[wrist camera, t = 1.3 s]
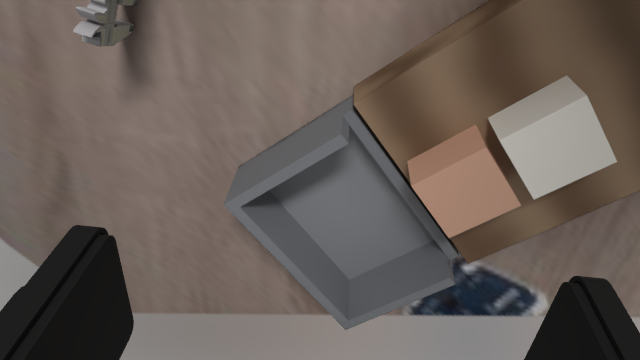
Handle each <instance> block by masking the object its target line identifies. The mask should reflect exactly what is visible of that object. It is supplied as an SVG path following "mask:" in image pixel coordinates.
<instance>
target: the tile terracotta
mask: <svg viewBox="0 0 640 360" xmlns="http://www.w3.org/2000/svg"><path fill="white" fill-rule="evenodd" d="M407 164H408V170H409V176H410V182H411V186H412V188H413V189H414V191H415V192H416V193H417V195H418V196H419V198H420V199H421V200H422V202H423V203H424V204H425V206H426V207H427V209H428V210H429V211H430V213H431V214H432V216H433V217H434V218H435V220H436V221H437V223H438V224H439V225H440V227H441V228H442V229H443V231H444V232H445V234H446V235H447V236H448V238H451V237H453V236H455V235H458V234H460V233H462V232H464V231H466V230H469V229H471V228H473V227H475V226H477V225H480V224H482V223H484V222H486V221H488V220H491V219H493V218H495V217H497V216H499V215H501V214H504V213H506V212H508V211H510V210H512V209H515V208H517V207H519V206H521V204H520V202H519V200H518V198H517V195H516V193H515V191H514V189H513V187H512V185H511V183H510V181H509V179H508V177H507V176H506V174H505V172H504V171H503V169H502V167H501V166H500V164H499V162H498V161H497V159H496V157H495V156H494V154H493V152H492V151H491V149H490V147H489V146H488V144H487V142H486V141H485V139H484V137H483V135H482V134H481V132H480V130H479V129H478V127H477V125H474V126H472V127H470V128H468V129H466V130H465V131H463V132H461V133H459V134H457V135H455V136H453V137H452V138H450V139H448V140H446V141H444V142H442V143H440V144H439V145H437V146H435V147H433V148H431V149H429V150H427V151H426V152H424V153H422V154H420V155H418V156H416V157H414V158H413V159H411V160H409V161H407Z"/></svg>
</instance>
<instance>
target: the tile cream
mask: <svg viewBox="0 0 640 360" xmlns="http://www.w3.org/2000/svg"><path fill="white" fill-rule="evenodd" d="M488 120H489V122H490V124H491V125H492V127H493V129H494V131H495V133H496V135H497V137H498V139H499V141H500V142H501V144H502V146H503V148H504V149H505V151H506V153H507V155H508V156H509V158H510V160H511V161H512V163H513V165H514V167H515V168H516V170H517V172H518V174H519V175H520V177H521V179H522V180H523V182H524V184H525V186H526V187H527V189H528V191H529V192H530V194H531V196H532V198H533V199H537V198H539V197H541V196H543V195H545V194H548V193H550V192H552V191H554V190H556V189H559V188H561V187H563V186H565V185H567V184H570V183H572V182H574V181H576V180H578V179H581V178H583V177H585V176H587V175H589V174H592V173H594V172H596V171H598V170H600V169H603V168H605V167H607V166H609V165H611V164H613V163H616V162H617V160H616V158H615V156H614V154H613V151H612V149H611V147H610V145H609V143H608V140H607V138H606V136H605V134H604V132H603V129H602V127H601V125H600V123H599V121H598V118H597V116H596V114H595V112H594V110H593V107H592V105H591V103H590V101H589V99H588V96H587V95H586V94H585V93H584V92H583V91H582V90H581V89H580V88H579V87H578V86H577V85H576V84H575V83H574V82H573V81H572V80H571V79H570V78H569V77H568V76H565V77H563V78H561V79H559V80H557V81H555V82H554V83H552V84H550V85H548V86H546V87H544V88H542V89H541V90H539V91H537V92H535V93H533V94H531V95H529V96H528V97H526V98H524V99H522V100H520V101H518V102H516V103H515V104H513V105H511V106H509V107H507V108H505V109H503V110H502V111H500V112H498V113H496V114H494V115H492V116H491V117H489V118H488Z"/></svg>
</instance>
